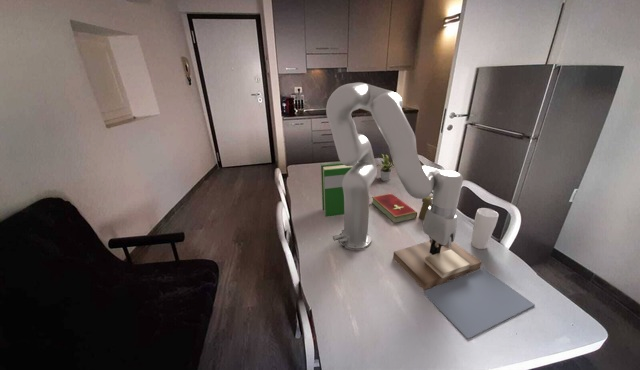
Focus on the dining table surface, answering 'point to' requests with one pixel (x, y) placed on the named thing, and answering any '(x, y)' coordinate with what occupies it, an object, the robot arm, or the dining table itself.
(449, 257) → the birch tile
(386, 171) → the house plant
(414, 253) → the walnut board
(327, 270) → the dining table surface
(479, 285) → the rubber mat
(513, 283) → the dining table surface
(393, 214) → the hardcover book
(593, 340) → the dining table surface
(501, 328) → the dining table surface
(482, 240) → the drinking glass
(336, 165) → the hardback book
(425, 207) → the cork
